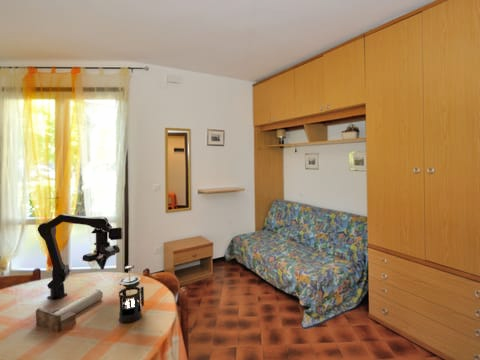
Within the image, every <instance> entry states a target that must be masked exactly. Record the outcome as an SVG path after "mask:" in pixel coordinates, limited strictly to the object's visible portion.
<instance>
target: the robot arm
mask: <svg viewBox="0 0 480 360" xmlns="http://www.w3.org/2000/svg"><path fill="white" fill-rule="evenodd" d="M62 223H66V224H67V223H68V224H76V225H84V226H89V227H91V228H93V230H92V231H91V232H90V233H91V234H95V242H94V243H93V245H94V246H95V250H94V253H90V252H89V253H86V254H83V256H82V261H84V262H86V263H87V262H88V263H90V262H91V263H93V262H94V261H95V262H96V263H97V265H98V266H99V268H100V270H104V269H105V266H106V264H107V261H108V259H109V258H111V257H113V256H115V255H116V254H119V253H120V252H121V251H120V250H121V249H120V247H119V245H118V244H114V245H111V243H110V241H115V240H116V241H118V240H123V238H124V232H123V226H118V227H113V226H112V225H111V224H110V223H109V219H108V218H107V217H106V216H93V217H92V216H82V215H76V214H68V213H61V214H59V215H57V216H56V217H55V218H53V219H51V220H47V221H45V222H43V223H40V224H39V225H38V227H37V233H38V234H39V236H40V237H41V239H43V241H44V242H45V245H46V249H47V252H48V255H49V259H50V261H51V266H52V272H51V276H52V277H51V278H52V279H51V281H49V283H48V284H47V288H48V289H49V291H50V292H49V296H46V297H47V299H49V300H54V301H56V300H59V299H60V298H63V297H65V296H67V295H68V293H66V292H65V284H64V282H66V280H67V279H68V278H69V276H70V272H71V269H70V266H69V264H65V263H64V262H63V258H62V256H61V252H60V248H59V245H58V241H57V238H56V237H57V236H56V235H57V226H58V225H60V224H62ZM109 240H110V241H109Z"/></svg>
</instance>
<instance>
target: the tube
mask: <svg viewBox="0 0 480 360" xmlns="http://www.w3.org/2000/svg"><path fill="white" fill-rule="evenodd" d="M103 297H104V295H103V291H102V290H101V289H95V290H94V291H92V292H90V293H88V294H86V295H85V296H83V297H81V298H80V299H77V300H76V301H74V302H72V303H70V304H68V305H66V306H64V307H63V308H59V310H58V311H57V312H55V314H58V315H60V316H63V315H65V314H67V313H69V312H72V313H75V315H76V314H78V313H80V312H81V311H83V310H85V309H86V308H89V307H90V306H92V305H93V304H96V303H97V302H98V301H101V300H102V299H103Z"/></svg>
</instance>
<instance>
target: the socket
mask: <svg viewBox="0 0 480 360" xmlns="http://www.w3.org/2000/svg"><path fill="white" fill-rule="evenodd" d="M58 310H60V308H58V307H51V308H49V309H46V310H45V309H42V308H39V307H38V308H36V311H35V320H36V321H35V322H36V323H35V324H36V326H39V327H41V328H43V329H47V330H50V331H53V332H54V333H59V332H61V331H63V330H66V329H67V328H69V327H70V326H72V325H75V324H76V323H77V322H76V314H75V313H72V312H69V313H67V314H65V315H63V316H60V315H58V314H55V312H57V311H58Z"/></svg>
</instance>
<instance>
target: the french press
mask: <svg viewBox="0 0 480 360" xmlns="http://www.w3.org/2000/svg"><path fill="white" fill-rule="evenodd" d="M123 268H124V269H125V270H127V271H128V276H125V277H123V278H121V279H119V280H118V285H119V286H122V287H124V288H122V289H120V290H119V292H118V297H119V312H118V315H119V318H118V322H119V323H121V324H125V325H127V324H133V323H135V322H138V321H140V320H141V318H142V316H143V314H142V307H144V305H145V293H144V291H145V289H144V286H142V285H140V281H141V277H140V276H137V275H133V276H132V275H131V269H134V268H135V265H131V264H130V265H126V266H124V267H123ZM139 285H140V286H139ZM133 290H135V291H137V292H135V293H134V294H129V295H127V291H129V293H131V291H133ZM129 314H130V315H129Z"/></svg>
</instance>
